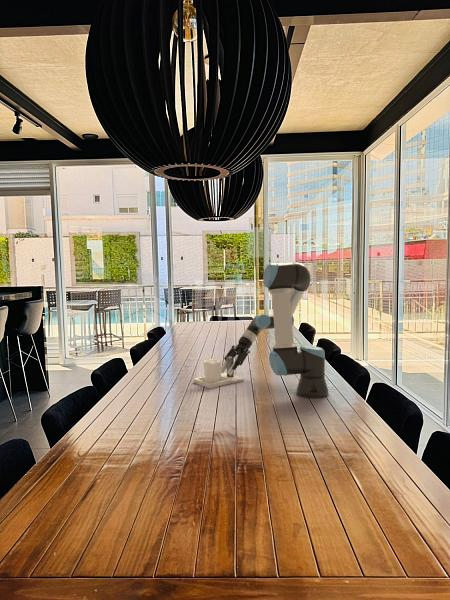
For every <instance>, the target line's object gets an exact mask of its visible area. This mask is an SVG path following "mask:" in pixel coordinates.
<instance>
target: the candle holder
mask: <svg viewBox="0 0 450 600" xmlns="http://www.w3.org/2000/svg"><path fill="white" fill-rule="evenodd" d="M222 363H223V361H222V359H218V358H207V359H204V360H203V370H204V373H203V374H204V376H205V382H208V383H210V384H211V383H215V382H219V381H222V380H221V373H222V372H221V367H222Z"/></svg>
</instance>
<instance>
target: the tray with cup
mask: <svg viewBox="0 0 450 600" xmlns="http://www.w3.org/2000/svg"><path fill="white" fill-rule="evenodd" d="M234 358H235V357H233V356H227V357H226V363H227V368H226V372H224V373H222V372H221V381H219V382H215V383H211V384H210V383H208V382H205V375H203V376H199V377H196V378H193V383H195V384H197V385H199V386H202V387H205V388H208V389H213V388H217V387H221V386H226V385H229V384H235V383H239V382H244V380H245V379H244V377H241V376H237V375H235V371H234V372H233V373H232V375H231V376H230V375H229V374H228V373H227V372H228V371H229V369H230V367H231V366H232V364H233V363H234V362H235V361H234Z"/></svg>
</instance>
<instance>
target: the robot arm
mask: <svg viewBox="0 0 450 600" xmlns="http://www.w3.org/2000/svg"><path fill="white" fill-rule="evenodd" d="M262 277H263V278H262V282H263V283H262V284H263V285H264V287H265V288H267V291H268V293H270V295H271V301H272V302H271V303H272V313H273V314H266V313H262V314H259V315H255V316H254V317H253V319H252V320H251V321H250V323H249V325H248V326H247V327H246V329H245V330H244V332H243V333H242V335H241V337H240V338H239V339H238V344H236V345H232V346H231V348H230V349H229V351H228V352H227V353H226V355H225V356H224V357H223V360H225V361H224V362H223V364H222V365H221V373H225V371H226V373H228V374H229V375H230V376H231V375H232V373H233V372H234V373H235V371H236V369H237V368H238V367H239V366H242V365H243V364H244V362H245V360H246V358H248V355H249V354H250V353H251V351H250V350H249V349H250V348H251V347H252V345H253V343H254V342H255V341H256V339H257V338H258V336H259V335H260V333H261V331H263V330H269V329H270V330H272V329H274V341H275V344H274V345H273V347H272V351H270V352H269V357H268V359H269V365H270V368H271V370H272V372H273V374H275V375H276V376H284V377H285V376H293V375H299V376H300V377H299V381H298V383H297V387H296V393H297V395H298V396H301V397H304V398H311V399H320V398H324V397H327V396H329V388H328V385H327V381H326V379H325V378H326V375H325V374H326V373H325V371H326V369H325V368H326V356H325V355H326V354H325V349H323V347H319V346H313V345H309V344H308V345H307V344H305V345H300V346H299V349H298V346H297V344H296V343H295V342H294V334H293V333H294V332H293V326H294V322H295V318H294V313H295V311H296V309H297V308H298V305H299V303H300V302H301V299H302V297H303V295H304V293H305V292H306V291H307V290H308V289H309V287H310V284H311V280H312V279H311V273H310V270H309V269H308V268H307V267H306V265H304V264H303V263H301V262H296V261H295V262H273V263H272V262H270V263H268V264H266V266H265V269H264V270H263V275H262ZM227 356H233V357H234V358H235V357H236V359H235V361H234V363H233V364H232V366H231V367H230V369H229V371H228V372H227V363H226V357H227Z"/></svg>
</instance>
